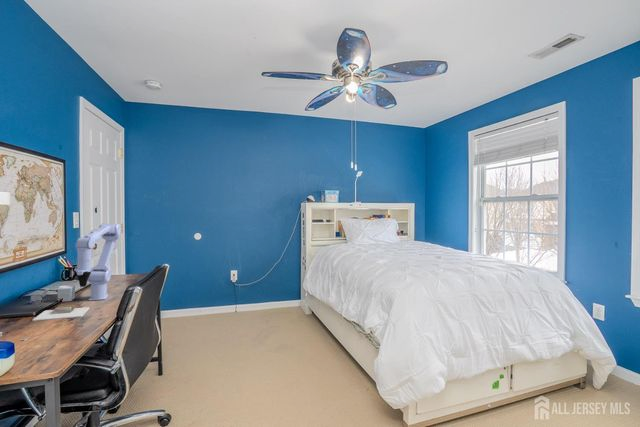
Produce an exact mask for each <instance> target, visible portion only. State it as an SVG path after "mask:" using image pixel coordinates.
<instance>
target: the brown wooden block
mask: <svg viewBox="0 0 640 427" xmlns="http://www.w3.org/2000/svg"><path fill="white" fill-rule="evenodd" d="M76 307H77V302H69V303H60V304H59V305H58V306H57V307H55V308H54V310H55V314H59V313H71V312H72V311H73V310H74V309H75V308H76Z"/></svg>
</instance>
